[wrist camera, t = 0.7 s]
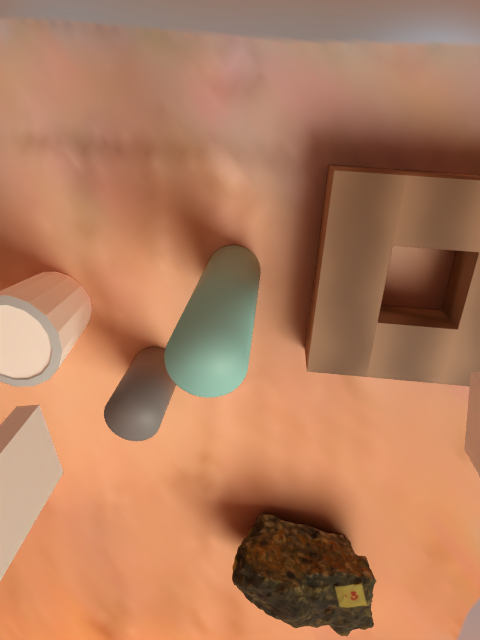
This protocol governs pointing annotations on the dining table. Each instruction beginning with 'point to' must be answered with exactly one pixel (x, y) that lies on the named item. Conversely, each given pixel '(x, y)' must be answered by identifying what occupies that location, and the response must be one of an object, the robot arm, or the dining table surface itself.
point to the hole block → (371, 271)
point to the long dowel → (216, 326)
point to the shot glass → (40, 326)
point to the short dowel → (140, 397)
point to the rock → (304, 576)
